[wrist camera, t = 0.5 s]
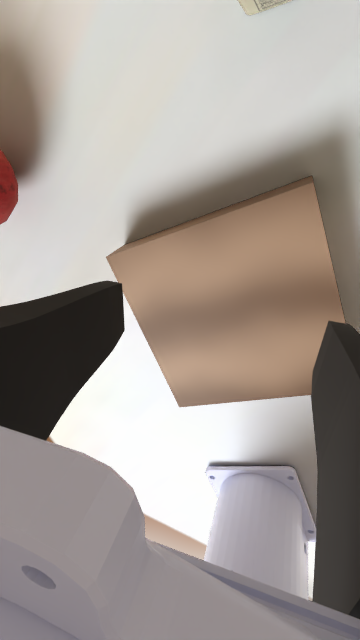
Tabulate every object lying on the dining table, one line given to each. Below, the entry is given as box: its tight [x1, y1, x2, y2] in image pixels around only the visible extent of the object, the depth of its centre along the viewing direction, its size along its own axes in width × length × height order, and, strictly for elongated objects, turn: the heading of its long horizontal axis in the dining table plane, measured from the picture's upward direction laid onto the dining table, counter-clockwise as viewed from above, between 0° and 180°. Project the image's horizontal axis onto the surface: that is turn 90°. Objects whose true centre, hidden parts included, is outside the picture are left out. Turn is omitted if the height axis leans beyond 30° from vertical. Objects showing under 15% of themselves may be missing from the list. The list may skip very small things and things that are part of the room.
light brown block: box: [106, 176, 346, 407], centre depth 21 cm, size 12×12×2 cm
